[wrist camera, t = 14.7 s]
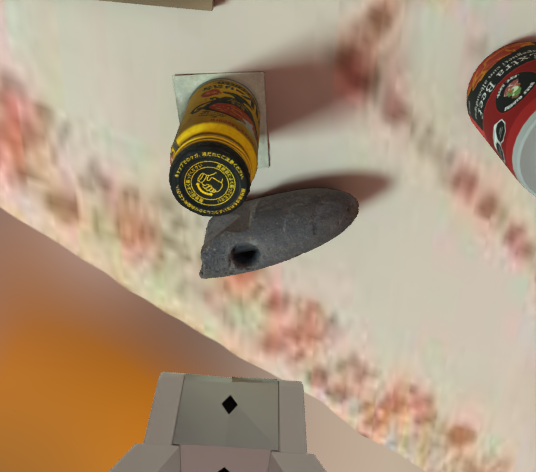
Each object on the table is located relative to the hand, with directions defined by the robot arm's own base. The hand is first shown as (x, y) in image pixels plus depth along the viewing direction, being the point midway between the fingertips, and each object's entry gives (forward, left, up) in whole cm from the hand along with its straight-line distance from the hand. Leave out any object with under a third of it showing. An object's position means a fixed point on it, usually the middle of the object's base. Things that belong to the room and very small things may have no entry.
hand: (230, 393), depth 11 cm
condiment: (+8, -3, -33) cm, 34 cm away
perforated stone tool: (+16, +3, -33) cm, 37 cm away
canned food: (+3, +20, -33) cm, 39 cm away
